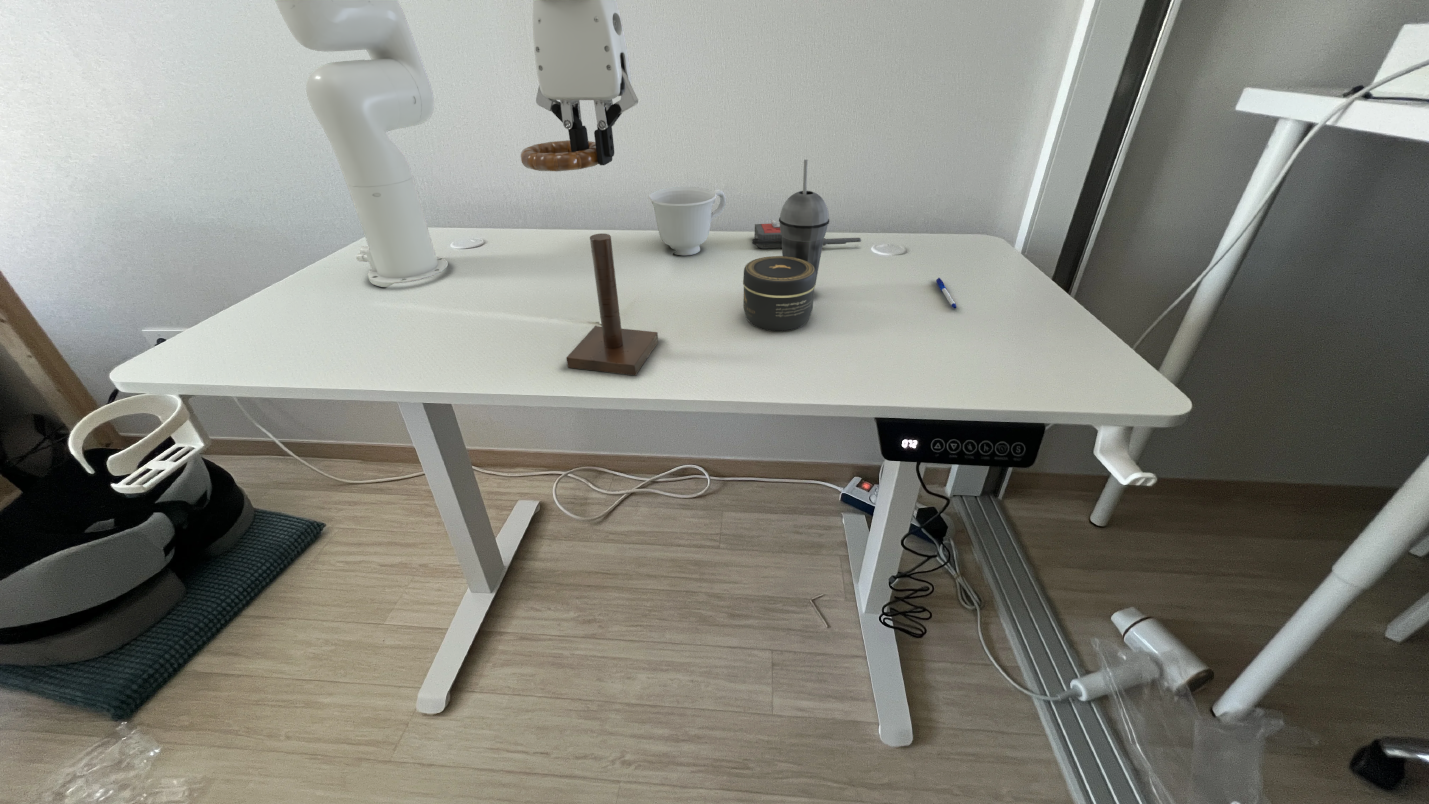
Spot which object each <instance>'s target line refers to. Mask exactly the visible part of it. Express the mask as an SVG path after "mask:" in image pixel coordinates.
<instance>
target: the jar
mask: <svg viewBox="0 0 1429 804" xmlns="http://www.w3.org/2000/svg"><path fill="white" fill-rule="evenodd" d="M815 278H816V271H815V268H814V266H813V265H812V264H810V263H809V262H807V261H805V260H802V259H799V258H794V257H787V256H782V255H772V256H771V255H770V256H763V257H759V258H756V259H753V260H751V261H749V262H747V263H746V264H745V266H744V268H743V277H742V285H743V305H742V306H743V311H744V316H745V319H746V320H747V321H748V322H749V323H750V324H751V325H752V326H753V327H755V328H757V329H761V330H763V331H769V332H789V331H790V332H791V331H794V330H798V329H800V328H802V327H803V326H804V325H806V324H807V323H808V321H809V319H810V317H811V315H812V312H813V308H814V295H815V289H816V284H817V281H816V282H815Z"/></svg>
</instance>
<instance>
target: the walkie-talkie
mask: <svg viewBox="0 0 1429 804" xmlns="http://www.w3.org/2000/svg"><path fill="white" fill-rule="evenodd" d="M753 237H754V238H753V239H752V240H751V244H752V245H757V247H758V248H759V249H763V250H764V249H782V235H781V231H780V222H777V221H776V219H771V223H755V224H754V236H753ZM847 243H862V238H861V237H838V238H825V237H824V240H823V246H826V245H846V244H847Z"/></svg>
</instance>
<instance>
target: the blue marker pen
mask: <svg viewBox="0 0 1429 804" xmlns="http://www.w3.org/2000/svg"><path fill="white" fill-rule="evenodd" d="M935 281H936V285H937V286H938V288H939V289H940V291H941V292H942V293H943V295H944V297H945V298H946V300H947V301H948V303H949V304H950V306H951V308H952V309H957V305H956V302H955V301H954V299H953V298H952V296H951V294H950V293H949V292H948V290H947V287H946V286H945V283H944V282H943V280H942V278H941V277H938V278H936V280H935Z"/></svg>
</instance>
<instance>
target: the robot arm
mask: <svg viewBox="0 0 1429 804" xmlns="http://www.w3.org/2000/svg"><path fill="white" fill-rule="evenodd" d="M274 2H275V3H276V6H277V9H278V10H279V12H280V15H281V17H282V18H283V20H284V23H285V24H286V27H287V28H288V30H289V31H290V34H291V35H292V36H293V37H294V39H295V40H296V41H297V42H298V43H299V44H300V45H301V46H302V47H304V48H306V49H308V50H311V51H316V52H323V53H324V52H327V53H328V52H329V53H330V52H332V53H333V52H350V51H363V50H366V52H367V55H368V56H369V59H355V60H343V61H333V62H328V63H325V64H322V65H319V66H318V67H316V68H314V69H313V70H312V71H311V72H310V74H309V75H308V77H307V78H306V79H307V80H306V84H305V92H306V97H307V100H308V103H309V105H310V107H311V110H312V111H313V114H314V115H315V117H316V119H317V121H318V122H319V124H320V126H321V128H322V130H323V131H324V134H325V135H326V138H327V139H328V142H329V144H330V145H331V148H332V150H333V152H334V154H335V157H336V159H337V162H338V166H339V168H340V170H341V172H342V176H343V179H344V181H345V184H346V186H347V189H348V192H349V194H350V197H351V200H352V203H353V206H354V209H355V211H356V215H357V218H358V221H359V224H360V225H361V229H362V232H363V234H364V238H365V240H366V243H367V246H366V245H363V246H361V247H360V248H359V253H357V254H356V256H355V258H356V260H357V261H358V262H359V263H360V262H361V263H362V262H364V263H369V266H370V269H369V270H368V273H367V278H368V280H369V282H370V283H371V284H372V285H375V286H377V287H380V288H389V287H391V286H392V285H394V284H404V283H405V284H406V283H410V282H416V281H421V280H425V279H428V278H431V277H433V276H436V275H438V274H440V273H442V272H443V271H445V270H446V269H448V266H449V262H448V261H447V259H445V258H444V257H441V256H439V255H437V253H436V250H435V247H434V244H433V241H432V237H431V233H430V229H429V226H428V223H427V220H426V216H425V212H424V209H423V205H422V202H421V198H420V195H419V192H418V187H417V185H416V181H415V178H414V174H413V171H412V168H411V165H410V163H409V160H408V158H407V157H406V155H405V153H404V152H403V151H402V149H400V148H399V146H398V145H397V144H396V142H394V141H393V139H391V138H390V136H389V135H388V134H387V132H391V131H394V130H398V129H399V130H400V129H404V128H405V129H406V128H409V127H415V126H420V125H422V124H424V123H426V122H427V121H429V119H430V118H431V117H432V115H433V113H434V109H435V97H434V92H433V87H432V84H431V82H430V78H429V76H428V74H427V73H428V72H427V70H426V67H425V65H424V63H423V62H424V61H423V60H422V57H421V55H420V52H419V48H418V46H417V44H416V41H415V38H414V36H413V33H412V30H411V28H410V25H409V23H408V19H407V17H406V14H405V12H404V10H403V8H402V5H401V3H400V2H399V0H274ZM532 37H533V39H532V40H533V50H534V51H533V52H534V60H535V66H536V67H535V68H536V69H535V70H536V75H537V80H538V88H537V93H536V97H535V103H536V104H537V106H539V107H541V108H543V109H545V110H546V111H548V112H551V113H552V114H553V115H554V116H555V117H556V118H557V119H558V120H559V121H560V122H561V123H562V126H563V128H565V129H566V130H567V131H568V140H570V145H571V152H576V151H581V150H586V149H589V142H588V141H589V136H588V129H587V126H586V125H583V121H582V111H581V101H593V105H594V112H595V118H596V128H597V129H595V130H594V132H593V135H594V142H595V144H596V152H597V160H598V164H597V165H599V166H606V165H608V164H609V163H611V162H612V161H613V157H614V156H615V143H614V133H613V127H615V124H616V122H617V121H618V119H619V118H620V117H621V115H622V114H624V112H626V111H628V110H630V109H632V108H634V107H635V106H637V105H638V103H639V99H638V95H637V94H636V92H635V90H634V87H633V86H632V74H631V66H630V59H629V52H628V46H627V41H626V36H625V30H624V26H623V20H622V16H621V11H620V8H619V4H618V0H532ZM617 97H620V99H619V100H617V101H616V102H613V100H614V99H616V98H617Z"/></svg>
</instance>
